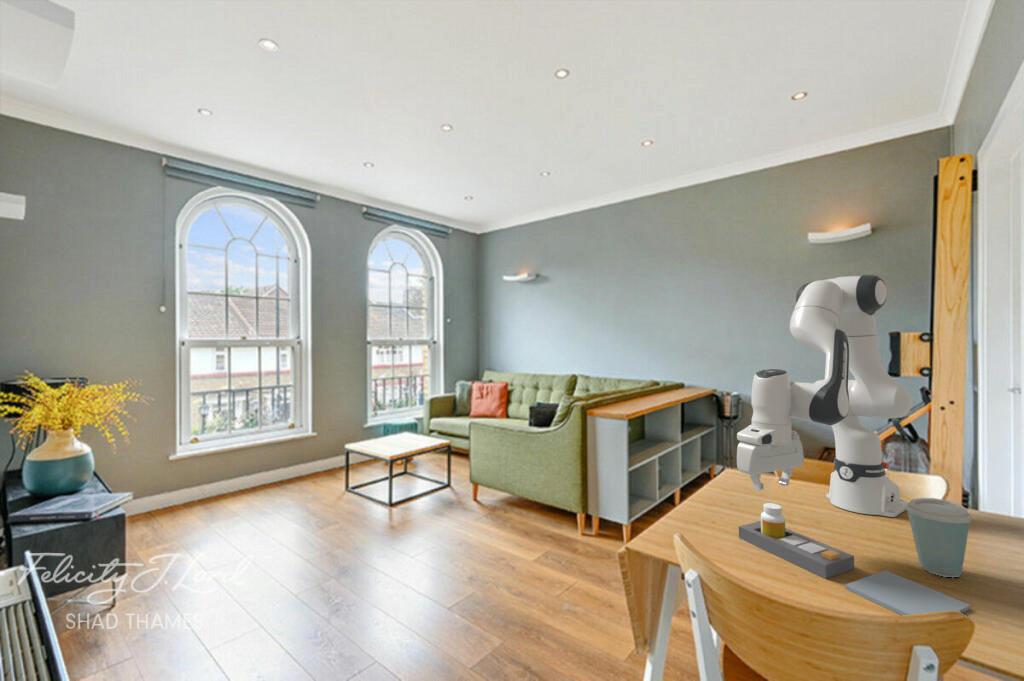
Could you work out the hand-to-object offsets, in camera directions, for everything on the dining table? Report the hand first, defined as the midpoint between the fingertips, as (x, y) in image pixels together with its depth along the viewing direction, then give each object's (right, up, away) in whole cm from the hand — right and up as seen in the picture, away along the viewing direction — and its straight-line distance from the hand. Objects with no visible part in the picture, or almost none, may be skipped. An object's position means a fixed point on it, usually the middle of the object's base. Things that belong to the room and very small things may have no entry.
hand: (771, 487), depth 112 cm
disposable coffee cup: (+29, -14, -14) cm, 35 cm away
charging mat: (+13, -14, -24) cm, 31 cm away
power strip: (+2, -14, -4) cm, 15 cm away
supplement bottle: (+1, -15, 0) cm, 15 cm away
